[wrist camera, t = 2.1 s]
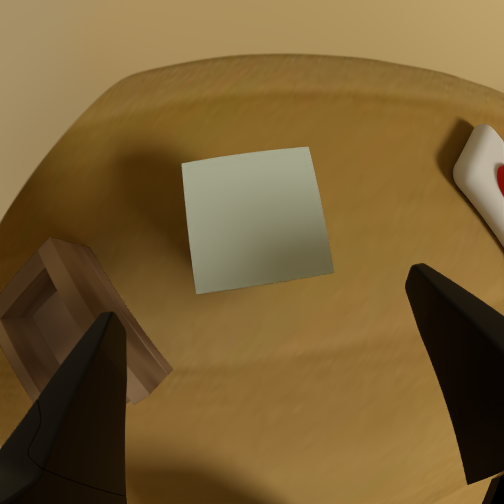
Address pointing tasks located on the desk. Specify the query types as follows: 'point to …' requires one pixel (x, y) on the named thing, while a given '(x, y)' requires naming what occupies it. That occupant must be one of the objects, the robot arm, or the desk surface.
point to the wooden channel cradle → (68, 319)
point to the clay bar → (255, 220)
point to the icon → (483, 176)
